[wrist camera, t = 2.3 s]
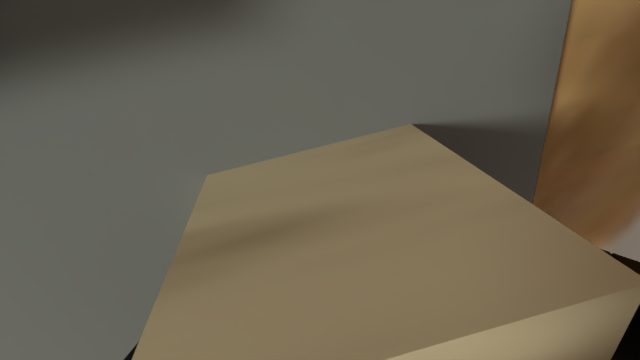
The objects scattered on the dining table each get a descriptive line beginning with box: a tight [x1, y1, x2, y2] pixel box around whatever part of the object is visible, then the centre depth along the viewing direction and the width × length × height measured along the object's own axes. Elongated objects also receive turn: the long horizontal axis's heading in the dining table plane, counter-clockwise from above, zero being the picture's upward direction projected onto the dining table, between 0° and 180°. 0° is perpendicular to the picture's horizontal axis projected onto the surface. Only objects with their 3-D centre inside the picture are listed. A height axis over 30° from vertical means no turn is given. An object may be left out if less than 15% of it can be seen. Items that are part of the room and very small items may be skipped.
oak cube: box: [132, 124, 640, 360], centre depth 7 cm, size 6×6×6 cm
